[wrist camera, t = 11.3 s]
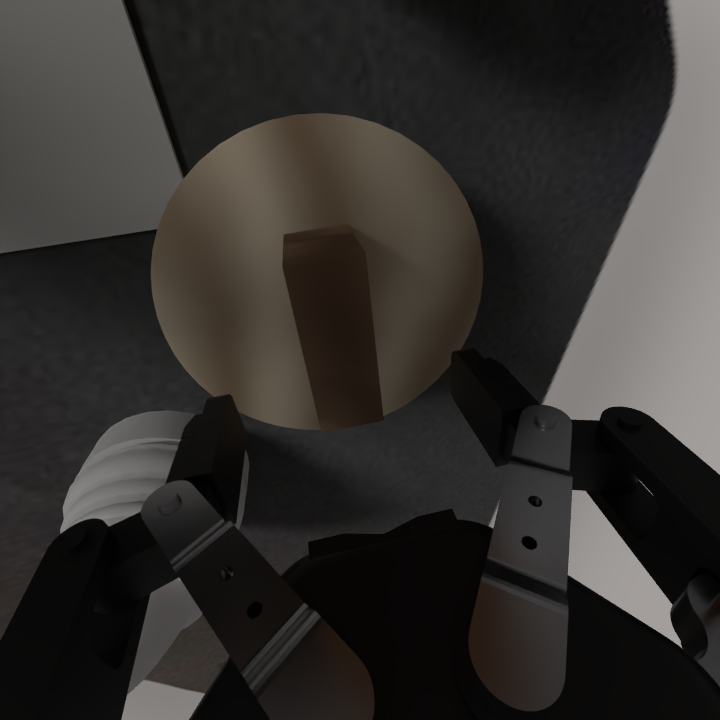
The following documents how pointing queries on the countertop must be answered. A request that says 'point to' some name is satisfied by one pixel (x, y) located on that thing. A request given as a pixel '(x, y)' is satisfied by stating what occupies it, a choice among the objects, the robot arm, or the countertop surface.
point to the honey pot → (126, 497)
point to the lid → (317, 271)
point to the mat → (78, 126)
